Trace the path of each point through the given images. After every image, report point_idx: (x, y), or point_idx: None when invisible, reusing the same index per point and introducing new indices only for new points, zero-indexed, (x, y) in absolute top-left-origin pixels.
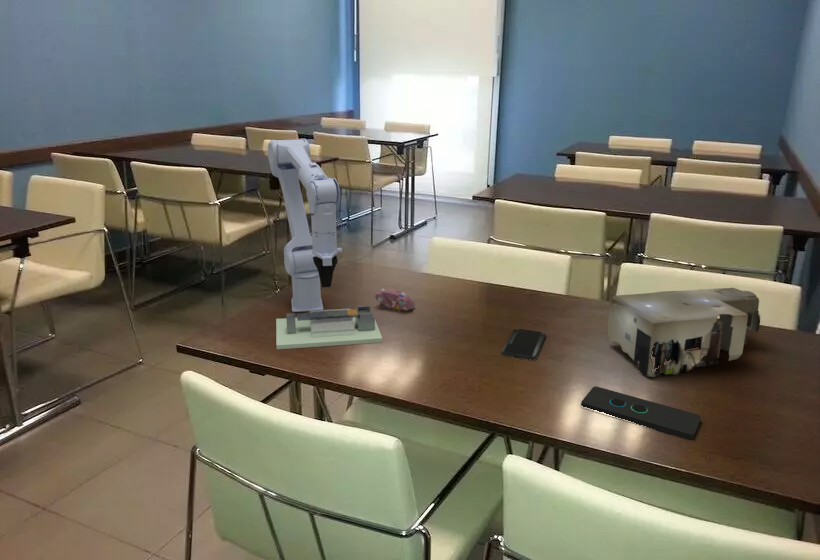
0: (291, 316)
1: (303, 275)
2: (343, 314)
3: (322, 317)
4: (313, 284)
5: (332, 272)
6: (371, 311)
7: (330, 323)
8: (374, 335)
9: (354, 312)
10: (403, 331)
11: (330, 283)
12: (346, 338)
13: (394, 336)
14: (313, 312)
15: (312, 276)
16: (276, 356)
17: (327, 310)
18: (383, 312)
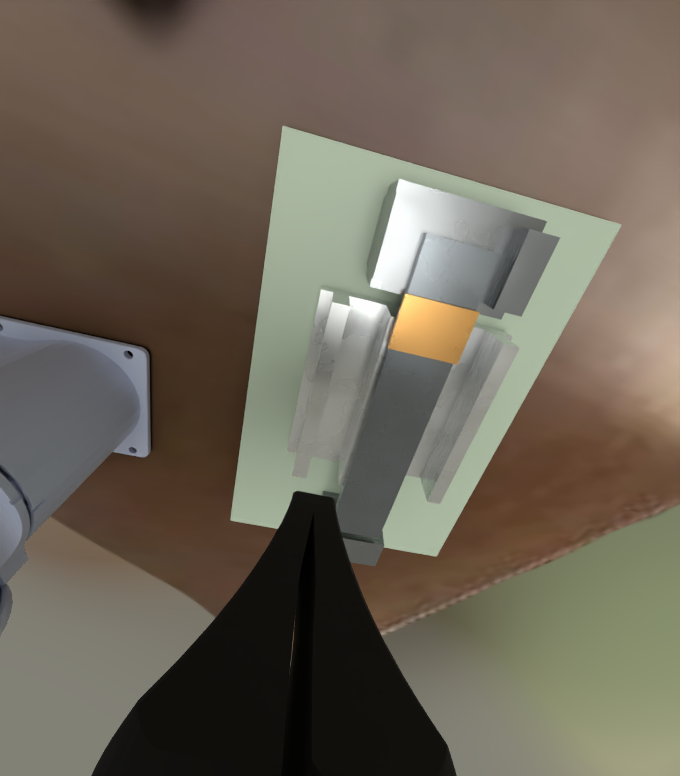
0: (351, 549)
1: (5, 538)
2: (431, 378)
3: (410, 463)
4: (46, 449)
5: (369, 614)
6: (434, 193)
7: (470, 444)
8: (568, 249)
9: (446, 322)
10: (571, 25)
11: (337, 519)
12: (516, 373)
13: (592, 124)
14: (309, 463)
15: (5, 491)
16: (474, 552)
17: (316, 412)
18: (235, 14)
